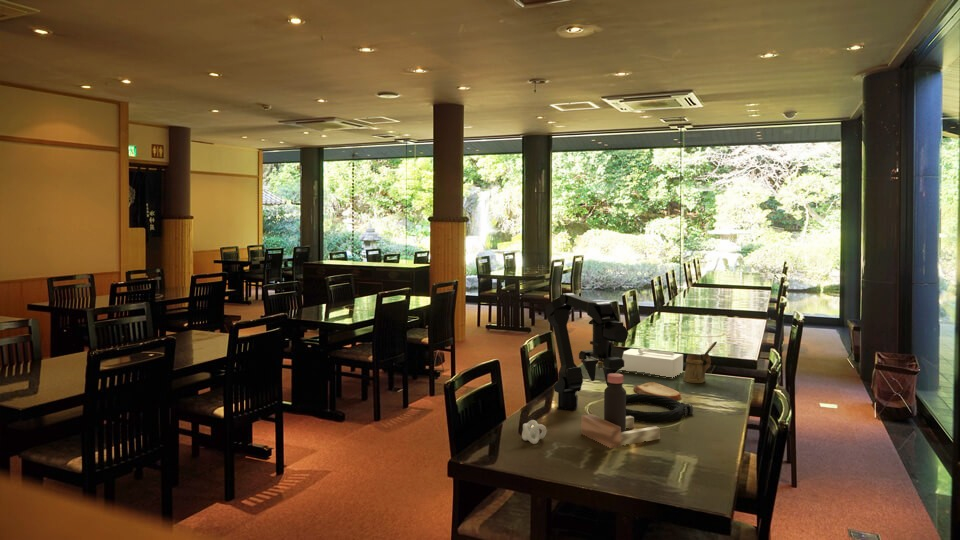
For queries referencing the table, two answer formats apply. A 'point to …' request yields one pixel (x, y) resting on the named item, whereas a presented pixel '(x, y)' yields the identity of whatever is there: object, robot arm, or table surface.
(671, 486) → the table surface
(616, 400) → the vinegar
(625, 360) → the tissue box
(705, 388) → the table surface
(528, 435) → the knot
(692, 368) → the wooden mug
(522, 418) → the table surface
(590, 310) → the robot arm
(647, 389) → the bread slice
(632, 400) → the cable lock
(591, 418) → the track
